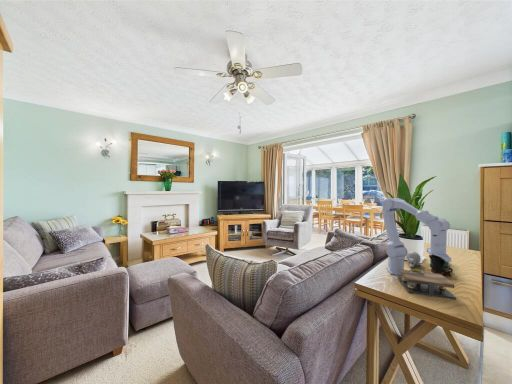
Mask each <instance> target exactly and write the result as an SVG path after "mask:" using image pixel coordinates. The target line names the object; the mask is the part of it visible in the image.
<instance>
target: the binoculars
mask: <svg viewBox="0 0 512 384" xmlns="http://www.w3.org/2000/svg"><path fill="white" fill-rule="evenodd" d="M429 267H430V271H431V272H432V273H435V274H441V275H442V274H443V276H444V277H445V276H446V277H451V275H452V273H453V268H451V267H450V265H449V266H448V262H446V263H445V264H444V265H443V268H442V270H441V272H437V271H435V270H434V267H433V264H432V261H431V262H430V264H429Z"/></svg>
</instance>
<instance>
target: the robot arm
mask: <svg viewBox="0 0 512 384" xmlns="http://www.w3.org/2000/svg"><path fill="white" fill-rule="evenodd" d="M381 206H382V211H381V214H382V219H383V222H384V227H385V230H386V233H387V238H388V242H387V243H386V244H385V246H386V254H387V256H388V258H387V266H386V271H388V272H389V274H390V275H396V276H402V275H401V274H400V273H399V269H400V270H405V258H406V255H407V253H408V252H409V251H408V249H407V248H406V245H405V244H404V242H402V241H401V239H400V236H399V231H398V226H397V224H396V220H395V217H394V216H395V215H394V214H395V213H396V212H397V211H399V210H400V209H402V210H403V211H406V212H407V213H410V214H411V215H413V216H415V220H418V221H419V222H421V223H423V224H424V225H426V226H427V227H428V229H429V230H430V247H426V252H427V253H428V254H429V255H428V257H429V259H430V260H431V261H432V264H433V267H434V270H435V271H437V272H441V270H442V268H443V265H444V264H445V263H446V262H449V263H452V257H450V256H449V254H447V242H448V241H447V240H448V239H447V235H448V233H447V232H448V230H449V229H450V227H451V224H450V222H449V221H448V220H446V219H445V218H439V216H437V215H436V216H435V215H433V214H431V213H430V211H429V210H424V209H423V210H422V209H421V210H420V209H418V208H416V207H414V206H413V205H411V204H410V203H409V202H407V201H406V200H405V199H402V198H400V197H395V198H389V197H386V198H384V199H383V201H382V202H381ZM430 254H432V255H430ZM441 273H442V272H441Z"/></svg>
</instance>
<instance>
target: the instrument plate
mask: <svg viewBox="0 0 512 384" xmlns="http://www.w3.org/2000/svg"><path fill="white" fill-rule="evenodd" d="M399 273H400V274H401V275H400V276H401V277H404V279H405V280H406V281H407V282H410V283H418V284H426V285H428V283H431V284H434V286H441V287H445V288H449V289H450V288H451V289H455V286H456V285H455V284H454V283H452V281H450V280H449V279H448V278H446V277H445V276H444V275H442V273H441V274H435V273H434V272H425V271H422V269H417V268H415V269H414V268H410V269H409V270H407V269H404V270H400V269H399Z"/></svg>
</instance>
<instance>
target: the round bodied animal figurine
mask: <svg viewBox="0 0 512 384" xmlns="http://www.w3.org/2000/svg"><path fill="white" fill-rule="evenodd" d="M407 252H408V253H407V255H406V256H405V258H406V260H407V263H408V266H409V267H410V269H414V268H415V266H416V267H418V266H420V263H421V255H420V254H419V253H418V252H416V251H413V250H412V251H407Z"/></svg>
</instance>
